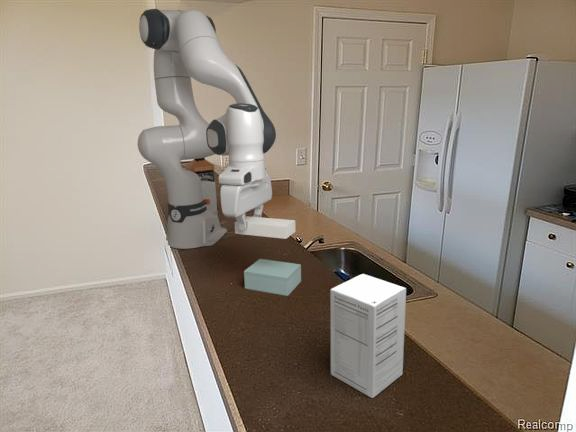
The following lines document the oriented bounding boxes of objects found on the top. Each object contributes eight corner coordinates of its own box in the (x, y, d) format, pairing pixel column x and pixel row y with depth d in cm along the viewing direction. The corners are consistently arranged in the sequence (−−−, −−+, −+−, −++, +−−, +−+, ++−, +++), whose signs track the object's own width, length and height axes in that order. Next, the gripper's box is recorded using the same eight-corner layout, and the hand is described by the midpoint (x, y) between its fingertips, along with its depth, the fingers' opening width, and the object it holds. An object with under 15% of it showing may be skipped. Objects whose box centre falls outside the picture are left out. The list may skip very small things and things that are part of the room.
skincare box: (206, 218, 174) (203, 180, 169) (219, 220, 170) (216, 181, 166) (192, 223, 167) (188, 184, 162) (205, 226, 163) (201, 185, 159)
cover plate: (246, 227, 114) (246, 216, 113) (295, 231, 108) (295, 220, 108) (235, 233, 109) (234, 222, 108) (285, 238, 103) (285, 226, 102)
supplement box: (404, 374, 76) (409, 287, 71) (372, 400, 70) (376, 307, 65) (360, 352, 83) (362, 271, 78) (328, 374, 77) (328, 287, 72)
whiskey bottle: (195, 214, 179) (188, 136, 170) (189, 209, 188) (182, 134, 179) (219, 210, 184) (213, 135, 175) (211, 205, 192) (206, 133, 183)
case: (260, 274, 119) (259, 258, 117) (301, 281, 114) (300, 264, 113) (244, 288, 111) (243, 271, 109) (287, 295, 106) (287, 278, 105)
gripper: (255, 164, 116) (258, 214, 120) (214, 178, 98) (218, 235, 102) (276, 165, 114) (278, 215, 118) (238, 179, 96) (241, 238, 100)
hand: (250, 225), depth 110 cm, fingers closed on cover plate, 6 cm apart
